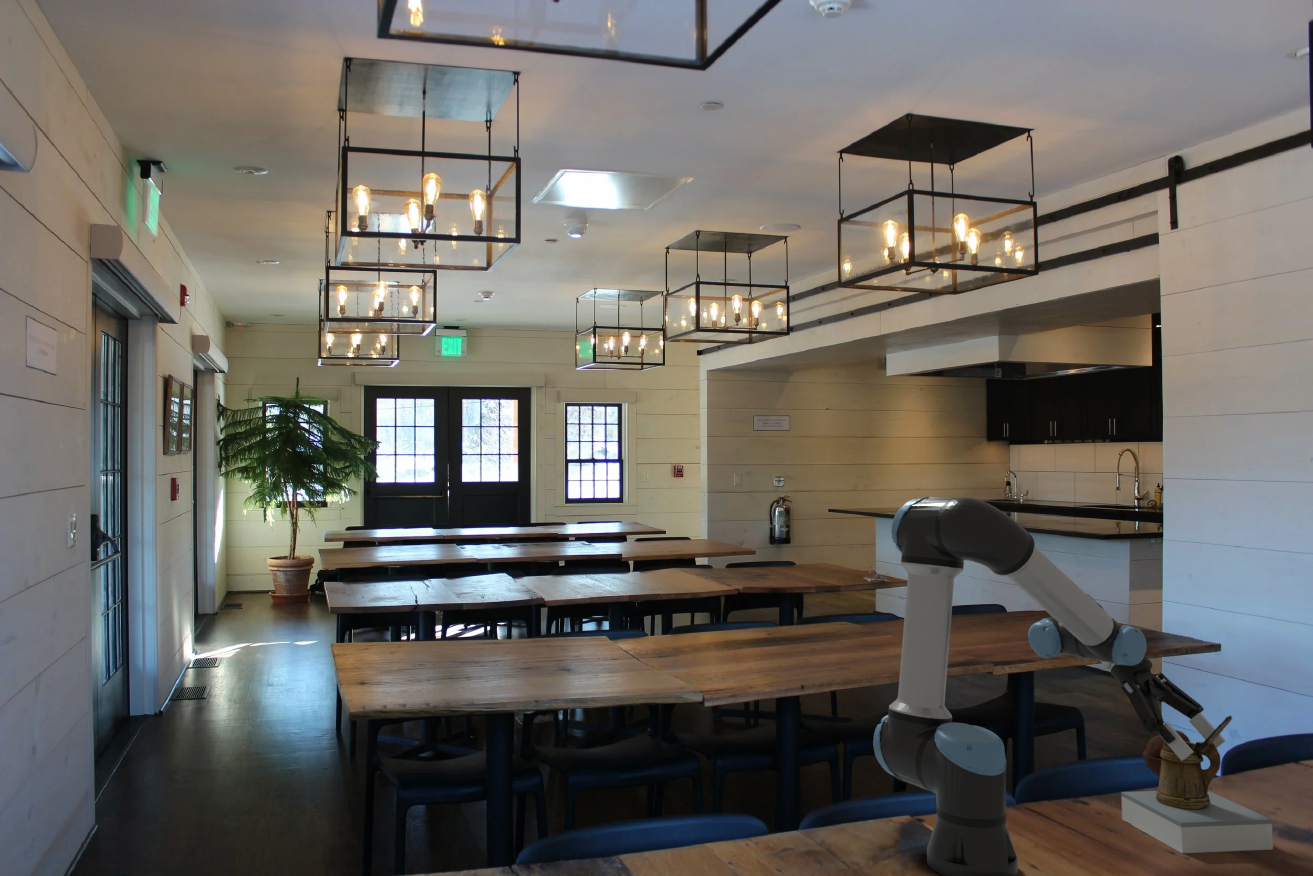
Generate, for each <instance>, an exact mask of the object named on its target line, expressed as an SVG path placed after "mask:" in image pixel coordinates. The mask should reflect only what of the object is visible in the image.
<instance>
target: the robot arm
mask: <svg viewBox="0 0 1313 876" xmlns="http://www.w3.org/2000/svg"><path fill="white" fill-rule="evenodd" d="M891 537H892V538H891V539H892V542H893V543H894V544H895V548H896V549H897V550H898V551H899V552H900V553H901V557H900V558H901V559H900V564H901V566H902V567H903V568H904V569H905V571H906V572H907V584H906V594H905V595H906V596H905V607H904V622H903V631H902V643H901V644H902V645H901V654H900V655H901V656H900V657H901V658H900V668H899V669H900V670H899V679H898V693H897V697H896V700H894V701H893V702H891V704H889V706H888V713H887V715H885V716H884V717H882V718H881V720H880V723H879V724H877V726H876V727H875V730H874V733H873V741H872V743H873V751H874V755H875V757H876V761H878V763H879V765H880V766H881V768H882V769H883V770H884V771H885V772H887V774H890V775H891V776H893V777H894V778H896V779H898V780H899V781H901V782H903V783H908V784H911V785H913V786H916V787H919V788H920V789H923V790H926V791H928V792H930V793H933V794H935V795H936V796H935V797H936V801H935V802H936V819H935V823H934V824H933V827H932V830H931V831H932V832H931V834H930V837H929V841H928V844H927V848H926V863H927V865H928V866H929V868H930V870H933V871H934V872H936V873H938V874H939V875H941V876H1018V874H1019V859H1018V855H1017V853H1016V849H1015V847H1014V843H1013V841H1012V838H1011V835H1010V832H1009V829H1008V826H1007V766H1008V765H1007V758H1006V753H1005V745H1004V742H1003V740H1002V739H1001V738H1000V737H999V735H997V734H996V733H995V732H992V731H991V730H989V729H987V728H985V727H981V726H978V725H974V724H973V725H971V724H968V723H963V722H952V720H953V716H952V714H951V712H950V711H949V710H948V708H946V704H945V701H946V691H947V690H946V688H947V677H948V676H947V675H948V664H949V662H948V661H949V652H950V651H949V650H950V649H949V648H950V639H951V626H952V611H953V601H954V600H953V598H954V585H955V578H956V577H957V576H959V575H960V574H961V573H963V571H964V565H965V563H964V562H965V561H970V562H973V563H977V564H980V565H982V566H985V567H986V568H988V569H989V570H990V571H992V573H994V574H996V575H997V576H999V577H1001V576H1002V577H1007V578H1008V579H1009V580H1010V581H1011V582H1012V583H1014V585H1015V586H1017V587H1018V588H1019V589H1020V590H1022V592H1023V593H1025V594H1026V595H1027V596H1028V597H1030V599H1032V600H1033V602H1035V603H1036V604H1038V605H1039V606H1040V607H1041V608H1042V609H1043V610H1044V611H1045V612H1046V613H1048V615H1049V617H1047V618H1042V619H1041V620H1039V621H1036V622H1034V623H1033V624H1031V626H1030V627H1029V629H1028V632H1027V637H1028V644H1029V645H1030V648H1031V650H1033V651H1034V653H1035V654H1036V655H1038V656H1039V657H1041V658H1044V659H1050V658H1057V657H1059V656H1061V655H1066V656H1070V657H1071V656H1072V657H1077V658H1083V659H1089V660H1094V661H1098V662H1100V663H1101V664H1102V666H1104V668H1105V669H1107V670H1110V674H1111V675H1112V677H1114V678H1115V680H1116V681H1117V682H1118V683H1119V684H1120V685H1121V690H1122V691H1123V693H1124V694H1125V695H1126V696H1127V698H1128V700H1129V702H1130V704H1131V705H1132V708H1133V710H1134V711H1135V713H1136V715H1137V716H1138V719H1139V720H1140V723H1141V724H1142V726H1143V727H1144V728H1145V729H1146V730H1147V731H1148V732H1149V733H1151V734H1152V733H1153V732H1155V731H1156V733H1157V734H1158V735H1160V736H1161V737H1162V739H1163V740H1164V741H1165V742H1166V743H1167V744H1168V746H1169V747H1170V748H1171V749H1172V750H1173V751H1174V753H1175V754H1176V755H1177V756H1178V757H1179V758H1180V759H1181V761H1182V760H1184V759H1186V758H1187V757H1188V756H1189V755H1191V754H1192V753H1193V750H1192V749H1191V748H1190V747H1189V746H1188V745H1187V744H1186V742H1185V741H1184V740H1183V739H1182V738H1181V737H1180V736H1179V734H1178V733H1177V732H1176V731H1175V729H1174V728H1173V726H1172V725H1171V724H1170V723H1169V722H1165V721H1164V717H1163V716H1162V712H1161V710H1160V706H1159V703H1164V704H1166V705H1168V706H1170V707H1171V708H1173V709H1174V710H1176V711H1177V712H1179V713H1181V714H1182V715H1183V716H1185V717H1187V718H1188V719H1190V720H1188V722H1189V723H1190V724H1191V725H1192V726H1193V727H1194V728H1195V730H1196V731H1197V732H1198V733H1199V734H1200V735H1201V736H1202V738H1203V739H1204V741H1205V740H1206V739H1207V738H1208V737H1209V736H1210V735H1211V734H1212V733H1213V731H1214V730H1215V729H1216V728H1215V727H1214V726H1213V725H1212V723H1210V722H1209V721H1208V719H1207V718H1206V717H1205V716H1204V715H1203V713H1202V712H1203V711H1204V710H1205V709H1204V707H1203V706H1202V705H1201V704H1200V703H1199V702H1198V701H1197V700H1195V699H1193V698H1192V697H1191V696H1190V695H1189V694H1188V693H1186V692H1185V691H1184V690H1182V689H1181V688H1180V687H1178V686H1177V685H1176V684H1174V683H1173V682H1172V681H1171V680H1170V679H1169V678H1168V677H1167V676H1166V675H1165V674H1164V673H1162V672H1159V673H1158V674H1157V675H1155V674H1153V673H1152V671H1151V669H1152V668H1153V663H1152V661H1151V660H1150V659H1149V658H1148V657H1147V655H1145V654H1146V653H1147V640H1146V636H1145V635H1144V633H1143V632H1142V630H1141V629H1140V628H1138V627H1135V626H1132V625H1131V626H1130V625H1129V624H1121V623H1118V622H1117V621H1116V620H1115V619H1114V618H1113V617H1112V616H1110V614H1108V613H1107V612H1106V611H1105V609H1104V608H1103V606H1102V605H1101V604H1100V603H1098V601H1096V600H1095V598H1093V597H1092V596H1091V595H1090V594H1088V593H1086V592H1085V591H1084V590H1083V589H1081V588H1080V586H1078V585H1077V584H1076V583H1075V582H1074V581H1073V580H1071V578H1070V577H1068V575H1066V573H1064V572H1063V571H1062V570H1061V569H1060V568H1059V567H1057V565H1056V564H1054V563H1053V562H1052V561H1051V560H1050V559H1049V558H1048V557H1047V556H1046V555H1045V554H1044V553H1042V552H1041V551H1040V549H1038V548H1037V547H1036V541H1035V538H1034V537H1033V536H1032V534H1030V533H1029V532H1028V531H1027V530H1026V529H1025V528H1024V527H1022V525H1020V524H1019V523H1018V522H1017V521H1015V520H1014V519H1013V518H1011V516H1009V515H1007V514H1006V513H1004V511H1001V510H1000V509H998V508H997V507H995V506H993V505H992V504H990V503H988V502H986V501H983V500H980V499H977V498H975V497H974V498H973V497H941V496H925V497H919V498H913V499H911V500H908V501H906V502H905V503H904V504H903V505H902V506H900V507H899V509H898V510H897V512H896V513H895V515H894V517H893V520H892V523H891ZM1158 702H1159V703H1158ZM1226 742H1227V741H1226V739H1225V738H1224V737H1223V736H1222V735H1221V733H1220V734H1219V735H1218V737H1217V738H1216V739H1215V740H1214V742H1213V743H1214V745H1215V747H1216V748H1219V747H1220V746H1221V745H1223V744H1224V743H1226Z"/></svg>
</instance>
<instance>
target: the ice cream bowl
mask: <svg viewBox="0 0 1313 876" xmlns="http://www.w3.org/2000/svg"><path fill="white" fill-rule="evenodd" d="M1174 730H1175V729H1174ZM1175 731H1176V732H1177V733H1178V734H1179V736H1180V737H1181V738H1182V739H1183V740H1184V741H1186V742H1191V739H1190V738H1189V737H1188V736H1187V734H1185V733H1184V732H1183V731H1180V730H1175ZM1163 742H1164V740H1163V739H1162V737H1161V736H1160V735H1159V734H1158V735H1154V736H1152V737H1151V738H1150V739H1149V740H1148V741H1147V745H1146V749H1144V750H1143V751H1142V757H1143V760H1144V763H1145V765H1146V767H1147V768H1148V770H1150V771H1151V772H1152V773H1153V774H1154V775H1156V776H1157V777H1158V778H1160V771H1161V762H1162V757H1161V756H1160V754H1161V749H1162V748H1163Z"/></svg>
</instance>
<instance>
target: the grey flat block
mask: <svg viewBox="0 0 1313 876" xmlns="http://www.w3.org/2000/svg"><path fill="white" fill-rule="evenodd" d="M1120 793H1121V819H1122V821H1124V822H1126V823H1127V822H1128V823H1127V824H1129V823H1130V824H1129V825H1131V826H1133V827H1134V828H1137V829H1138V830H1140V831H1142V832H1144V833H1146V834H1147V835H1149V836H1150V837H1152V838H1155V840H1157V841H1159V842H1161V843H1163V844H1164V845H1167V846H1168V847H1170V848H1172V849H1173V850H1175V851H1177V852H1179V853H1180V854H1193V853H1194V854H1195V853H1196V854H1197V853H1200V854H1201V853H1221V852H1241V851H1244V852H1245V851H1266V850H1267V851H1268V850H1271V851H1272V850H1273V849H1274V846H1273V845H1274V844H1273V843H1274V842H1273V839H1274V838H1273V819H1271V818H1269V817H1268V816H1265V815H1263V814H1260V813H1258V812H1256V811H1254V810H1252V809H1250V808H1247V807H1245V806H1243V805H1241V804H1238V803H1236V802H1234V801H1232V800H1229V799H1227V798H1225V797H1222V796H1220V795H1219V794H1216V793H1214V792H1212V791H1209V790H1208V794H1209V799H1210V804H1209V805H1208V806H1207V807H1206V808H1203V809H1184V808H1178V807H1172V806H1169V805H1166V804H1163V803H1161V802H1159V801H1158V800H1157V799H1156V794H1157V790H1142V791H1141V790H1140V791H1139V790H1138V791H1121V792H1120Z"/></svg>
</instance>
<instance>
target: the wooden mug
mask: <svg viewBox="0 0 1313 876" xmlns="http://www.w3.org/2000/svg"><path fill="white" fill-rule="evenodd" d="M1232 720H1233V717H1232V715H1229V716H1226V717H1225V718H1224V720H1223V721H1222V722H1221V723H1219V724H1218V726H1217V727H1216V728H1215V730H1214V731H1213V733H1212V734H1211V735H1210V736H1209V737H1208V738H1207V739H1206V740H1205V739H1204V741H1196V742H1195V743H1194V742H1192V741H1190V742H1186V741H1185V742H1186V744H1187V745H1188V746H1189V747H1190V748H1191V749H1192V750H1193V753H1192V754H1191V755H1189V756H1188V757H1187V758H1186V759H1184V760H1182V761H1181V759H1180V758H1179V757H1178V756H1177V755H1176V754H1175V753H1174V751H1173V750H1172V749H1171V748H1170V747H1169V746H1168V744H1167V743H1166V742H1165V741H1164V742H1163V748H1162V749H1161V754H1160V756H1161V757H1162V762H1161V771H1160V777H1159V781H1158V787H1157V790H1156V791H1157V794H1156V799H1157V800H1158V801H1159V802H1161V803H1163V804H1166V805H1169V806H1172V807H1178V808H1184V809H1203V808H1206V807H1207V806H1208V805H1209V804H1210V799H1209V794H1208V791H1209V786H1210V784H1211V782H1212V781H1213V779H1214V778H1215V776H1216V775H1217V774H1218V772H1219V771H1220V768H1221V763H1222V762H1221V754H1220V752H1219V750H1218V749H1217V748H1216V747H1215V745H1214V743H1213V742H1214V740H1215V739H1216V738H1217V737H1218V735H1219V734H1220V735H1221V733H1222V732H1223V731H1224V729H1226V727H1227V726H1228V725H1229V724H1230V722H1232ZM1204 757H1206V758H1207V759H1208V760H1209V764H1210V765H1209V766H1208V768H1206V769H1205V768H1204V769H1202V764H1201V763H1202V762H1204Z"/></svg>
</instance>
